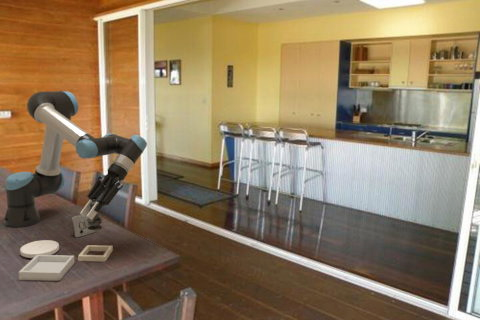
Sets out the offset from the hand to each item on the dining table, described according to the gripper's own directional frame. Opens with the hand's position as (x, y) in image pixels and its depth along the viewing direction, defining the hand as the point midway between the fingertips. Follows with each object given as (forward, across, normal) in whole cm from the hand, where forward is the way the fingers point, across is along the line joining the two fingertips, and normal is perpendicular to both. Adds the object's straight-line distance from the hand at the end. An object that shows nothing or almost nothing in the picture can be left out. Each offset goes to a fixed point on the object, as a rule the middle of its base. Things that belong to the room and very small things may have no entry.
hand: (86, 216), depth 158 cm
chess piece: (+1, 0, -7) cm, 7 cm away
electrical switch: (+3, +24, -22) cm, 32 cm away
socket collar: (+10, 0, -15) cm, 18 cm away
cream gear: (+19, +19, -7) cm, 28 cm away
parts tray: (+23, +2, -2) cm, 23 cm away
